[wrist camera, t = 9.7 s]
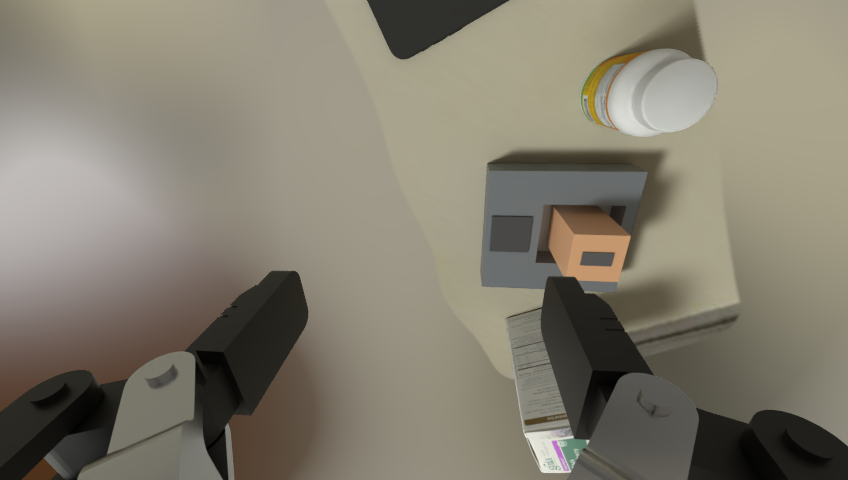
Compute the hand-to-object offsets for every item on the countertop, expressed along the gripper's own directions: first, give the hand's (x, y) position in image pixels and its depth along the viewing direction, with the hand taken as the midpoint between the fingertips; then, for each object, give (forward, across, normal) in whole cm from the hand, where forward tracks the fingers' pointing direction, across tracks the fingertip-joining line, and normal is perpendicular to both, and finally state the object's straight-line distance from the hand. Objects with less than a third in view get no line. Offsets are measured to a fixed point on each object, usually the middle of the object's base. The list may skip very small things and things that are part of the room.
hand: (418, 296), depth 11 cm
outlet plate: (+23, -10, +8) cm, 26 cm away
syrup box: (+23, -10, +21) cm, 33 cm away
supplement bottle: (+23, -14, -4) cm, 28 cm away
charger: (+22, -12, +8) cm, 27 cm away
